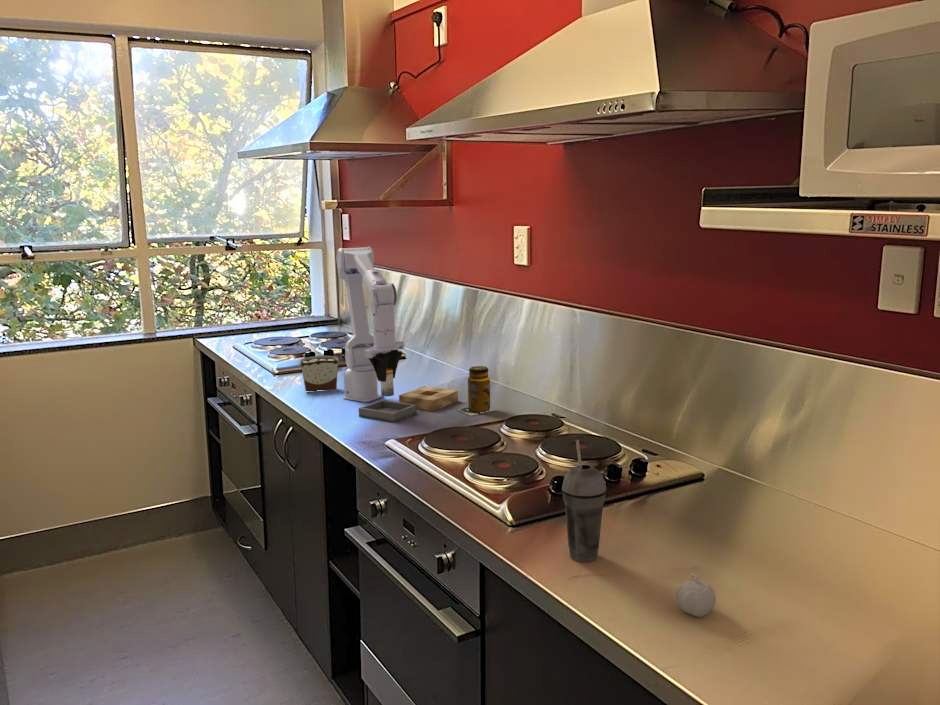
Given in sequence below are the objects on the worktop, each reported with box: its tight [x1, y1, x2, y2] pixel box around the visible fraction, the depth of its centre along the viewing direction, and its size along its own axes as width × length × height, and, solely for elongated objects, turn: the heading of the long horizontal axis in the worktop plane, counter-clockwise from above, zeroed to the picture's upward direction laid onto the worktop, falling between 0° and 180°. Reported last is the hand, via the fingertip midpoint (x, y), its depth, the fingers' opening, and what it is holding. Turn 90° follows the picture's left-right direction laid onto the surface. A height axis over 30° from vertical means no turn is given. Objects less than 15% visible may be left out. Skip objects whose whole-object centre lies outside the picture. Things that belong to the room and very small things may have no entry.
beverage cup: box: [561, 439, 608, 563], centre depth 130 cm, size 7×7×20 cm
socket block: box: [398, 385, 459, 412], centre depth 229 cm, size 12×12×3 cm
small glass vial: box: [380, 368, 395, 397], centre depth 217 cm, size 3×3×7 cm
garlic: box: [675, 572, 717, 618], centre depth 114 cm, size 6×5×5 cm
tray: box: [358, 399, 418, 423], centre depth 218 cm, size 12×10×2 cm
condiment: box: [456, 365, 491, 417], centre depth 220 cm, size 7×8×12 cm
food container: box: [298, 355, 341, 392], centre depth 248 cm, size 12×6×10 cm, turn 108°
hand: (386, 379), depth 217 cm, fingers closed on small glass vial, 3 cm apart
